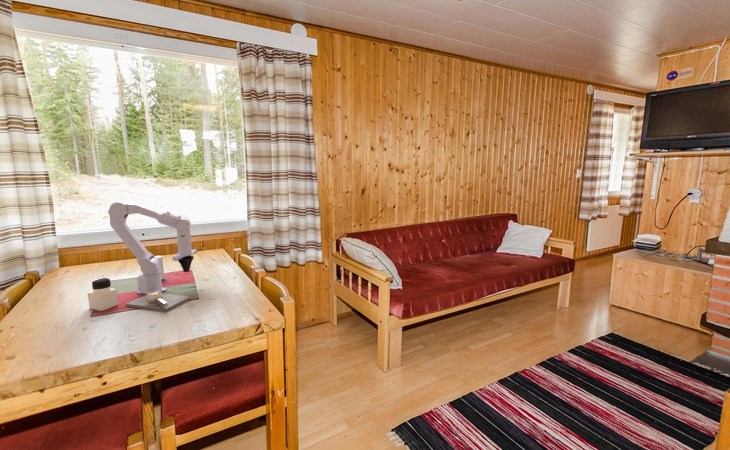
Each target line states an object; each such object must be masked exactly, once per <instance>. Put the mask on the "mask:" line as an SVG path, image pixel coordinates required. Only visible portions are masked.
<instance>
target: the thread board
mask: <svg viewBox="0 0 730 450" xmlns="http://www.w3.org/2000/svg"><path fill="white" fill-rule="evenodd" d="M162 299H163V300H164V301H166V302H167V304H168V307H165V308H164V307H162V306H161V305H159V304H158V303H154V304H149V303H147V294H144V295H142V296H141V297H138V298H136V299H133V300H131V301H128V302H126V303H125V307H127V306H128V308H129V307H130V308H134V307H135V308H136V309H141V308H142V309H143V310H147V309H148V310H150V311H155V312H162V313H167V312H168V311H170V310H172V309H174V308H177V307H178V306H181V305H182V304H185V303H186V302H189V301H190V299H191V296H186V295H178V294H171V293H163V292H162ZM142 309H141V310H142Z"/></svg>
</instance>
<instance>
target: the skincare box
mask: <svg viewBox="0 0 730 450" xmlns="http://www.w3.org/2000/svg"><path fill="white" fill-rule="evenodd" d="M154 256H155V257H157V258H158V259H159V260H160V261H161V265H160V267H159V270H160V271H161V280H165V269H164V260H163V259H164V258H163V257H164V256H162V255H154Z"/></svg>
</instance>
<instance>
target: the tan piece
mask: <svg viewBox="0 0 730 450" xmlns="http://www.w3.org/2000/svg"><path fill="white" fill-rule="evenodd" d="M162 293H163V291H151V292H148V293H147V294H146V295H147V303H149V304H154V303H158V304H159V305H161V306H162V307H164V308H165V307H168V304H167V302H166V301H164V300H163V299H162Z"/></svg>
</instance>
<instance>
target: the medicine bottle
mask: <svg viewBox="0 0 730 450" xmlns="http://www.w3.org/2000/svg"><path fill="white" fill-rule="evenodd" d="M111 284H112V283H111V279H110V278H108V277H100V278H96V279H94V280H93V281H91V286H92V290H91V291H88V292H87V299H88V307H89V309H90V310H95V311H99V312H104V311H105V310H106V311H107V310H108V309H111V308H113V307H116V306H118V305H119V299H118V292H117V291H118V290H117V289H116V288H112V287H111Z"/></svg>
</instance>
